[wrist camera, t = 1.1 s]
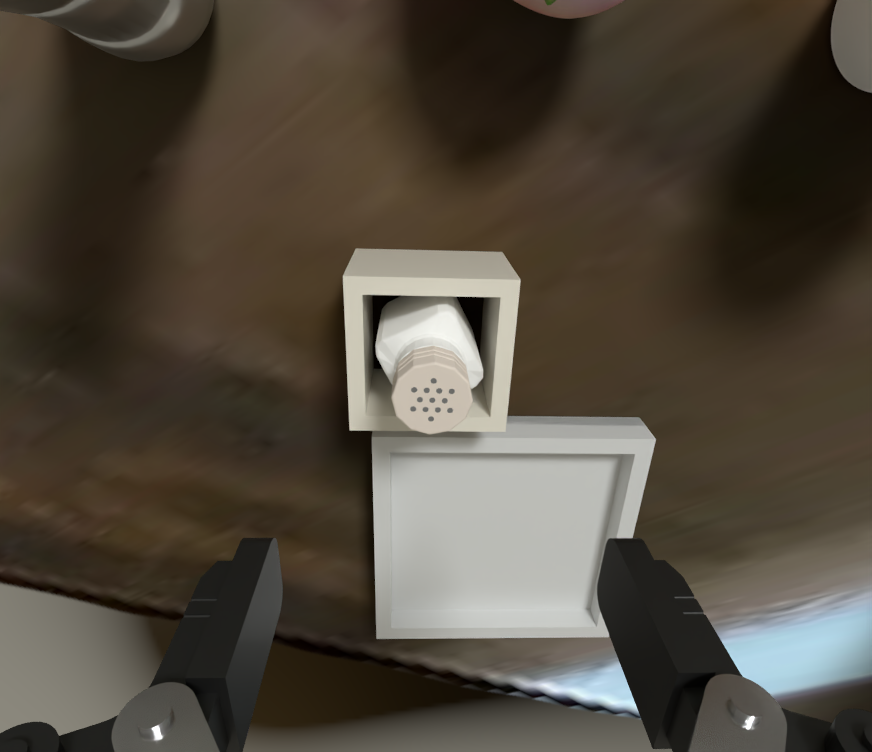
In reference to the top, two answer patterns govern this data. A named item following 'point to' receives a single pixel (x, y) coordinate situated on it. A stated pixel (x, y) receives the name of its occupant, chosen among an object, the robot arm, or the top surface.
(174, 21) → the plastic bottle
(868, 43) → the cup
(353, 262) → the holder
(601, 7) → the decorative fruit
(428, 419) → the pepper shaker
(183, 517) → the top surface
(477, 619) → the tray
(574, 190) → the top surface
